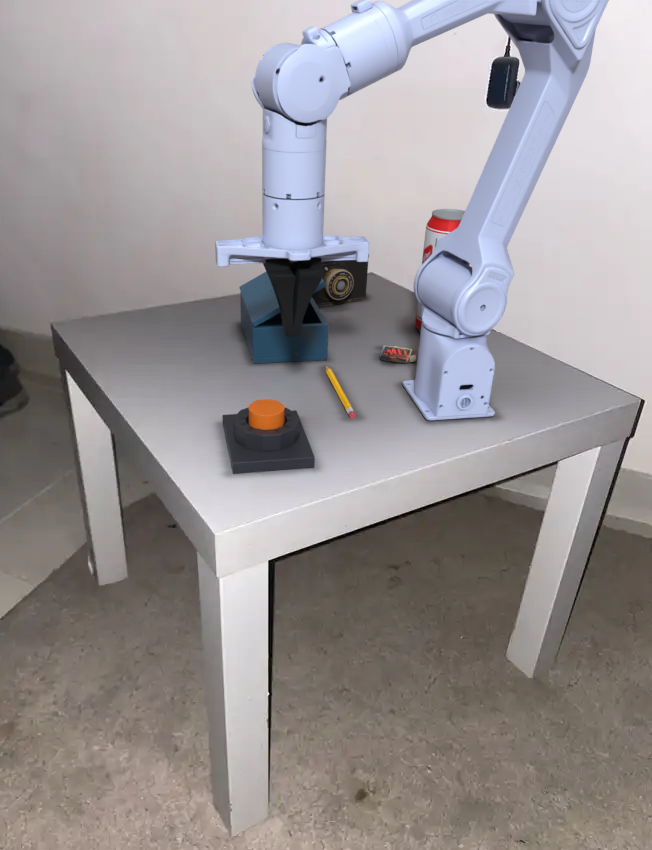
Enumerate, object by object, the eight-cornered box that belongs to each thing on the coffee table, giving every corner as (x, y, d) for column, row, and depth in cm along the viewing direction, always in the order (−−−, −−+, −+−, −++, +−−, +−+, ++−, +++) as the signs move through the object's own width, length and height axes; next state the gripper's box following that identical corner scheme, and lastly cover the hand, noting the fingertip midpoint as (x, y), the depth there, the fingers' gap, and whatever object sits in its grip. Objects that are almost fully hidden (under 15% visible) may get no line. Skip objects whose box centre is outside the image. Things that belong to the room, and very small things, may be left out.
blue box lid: (305, 254, 104) (289, 223, 101) (326, 286, 93) (309, 252, 90) (241, 291, 105) (224, 261, 102) (254, 327, 94) (235, 295, 91)
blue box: (307, 321, 109) (308, 289, 106) (327, 360, 98) (328, 324, 95) (240, 324, 107) (240, 291, 105) (253, 363, 96) (253, 328, 94)
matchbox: (380, 363, 97) (380, 359, 97) (377, 347, 101) (378, 343, 101) (417, 364, 97) (418, 361, 97) (413, 348, 101) (413, 345, 101)
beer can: (462, 326, 109) (478, 210, 101) (457, 342, 104) (474, 221, 96) (417, 320, 110) (430, 205, 102) (411, 336, 105) (424, 216, 97)
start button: (287, 430, 76) (287, 414, 76) (251, 432, 76) (250, 416, 75) (281, 413, 79) (281, 398, 79) (246, 415, 79) (246, 400, 78)
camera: (280, 320, 109) (281, 265, 105) (261, 305, 114) (261, 251, 110) (379, 305, 116) (384, 252, 111) (357, 291, 121) (360, 240, 116)
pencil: (349, 419, 85) (349, 413, 84) (322, 368, 96) (323, 363, 95) (356, 418, 85) (356, 412, 84) (329, 368, 96) (329, 363, 95)
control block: (314, 467, 76) (315, 441, 74) (232, 473, 74) (232, 446, 73) (296, 419, 84) (296, 395, 82) (222, 424, 82) (221, 399, 81)
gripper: (218, 205, 66) (223, 352, 73) (382, 201, 69) (371, 344, 76) (211, 187, 72) (216, 325, 79) (361, 184, 74) (353, 318, 82)
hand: (291, 333), depth 78 cm, fingers closed
